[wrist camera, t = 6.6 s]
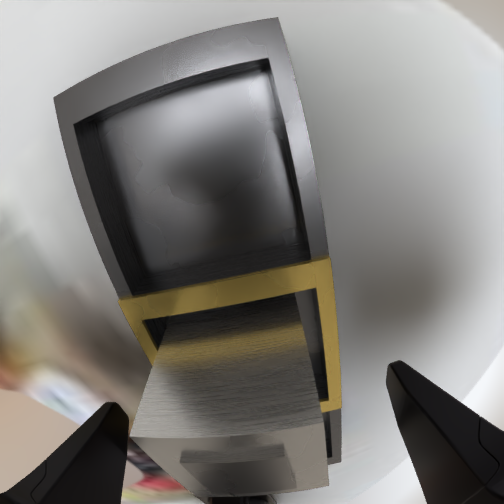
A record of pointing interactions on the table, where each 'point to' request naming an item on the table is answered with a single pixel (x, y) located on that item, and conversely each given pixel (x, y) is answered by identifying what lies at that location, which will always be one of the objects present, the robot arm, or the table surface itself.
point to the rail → (206, 188)
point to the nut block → (235, 402)
